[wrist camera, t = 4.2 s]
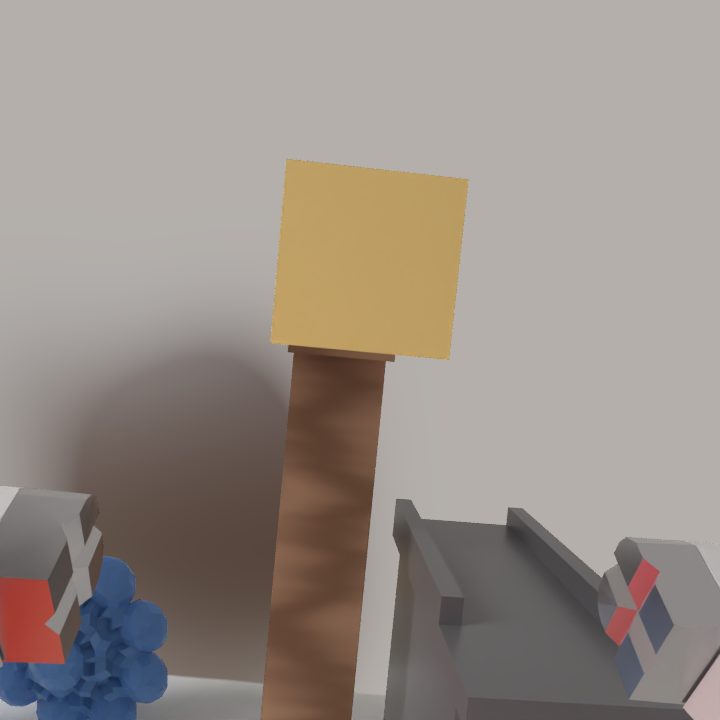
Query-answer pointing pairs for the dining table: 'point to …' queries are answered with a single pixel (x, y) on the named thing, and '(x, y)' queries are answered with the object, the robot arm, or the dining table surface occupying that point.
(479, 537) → the cradle
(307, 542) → the stand
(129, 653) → the grapes
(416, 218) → the yellow rectangular bar
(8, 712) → the dining table surface
